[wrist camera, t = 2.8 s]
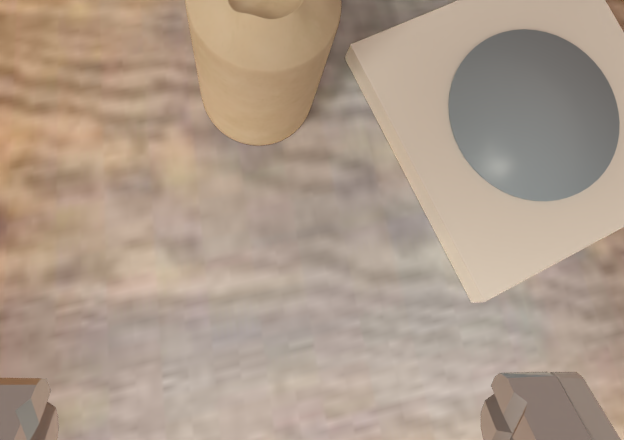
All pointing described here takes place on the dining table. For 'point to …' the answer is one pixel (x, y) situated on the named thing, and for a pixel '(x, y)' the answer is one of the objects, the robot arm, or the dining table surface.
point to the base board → (504, 129)
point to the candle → (260, 62)
